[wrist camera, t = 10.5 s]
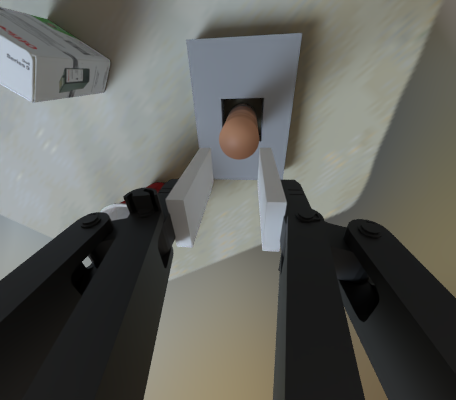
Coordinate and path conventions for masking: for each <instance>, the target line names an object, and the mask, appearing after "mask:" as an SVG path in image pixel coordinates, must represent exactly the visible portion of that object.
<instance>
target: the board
mask: <svg viewBox="0 0 456 400" xmlns="http://www.w3.org/2000/svg"><path fill="white" fill-rule="evenodd" d="M301 39H302V33H291V34H274V35H257V36H241V37H224V38H207V39H190V40H186V41H187V50H188V58H189V67H190V75H191V84H192V92H193V100H194V109H195V117H196V126H197V134H198V143H199V148H211V158H212V170H213V179H237V180H258V168H259V150H260V148H271V149H272V152H273V156H274V159H275V163H276V166H277V170H278V173H279V177H280V180H283V173H284V165H285V158H286V151H287V143H288V136H289V128H290V121H291V113H292V106H293V98H294V91H295V83H296V76H297V68H298V61H299V54H300V46H301ZM237 98H263V101H262V118H261V136H259V145H258V148H257V150H256V151H255V152H254V154H252V155H251V156H250V157H248V158H246V159H242V160H237V159H232V158H230V157H228V156H227V155H226V154H225V153H224V152H223V151H222V149H221V147H220V144H219V135H220V132H221V130H222V128H223V126H224V124H225V120H224V99H237Z"/></svg>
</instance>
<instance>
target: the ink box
mask: <svg viewBox="0 0 456 400" xmlns="http://www.w3.org/2000/svg"><path fill="white" fill-rule="evenodd" d="M109 68H110V60H109V59H108V58H106V57H105V56H103V55H102V54H100V53H99V52H97V51H96V50H94V49H92V48H91V47H89V46H88V45H86V44H85V43H83V42H82V41H80V40H79V39H77V38H76V37H74V36H72V35H71V34H69V33H68V32H66V31H65V30H63V29H62V28H60V27H59V26H57V25H56V24H54V23H52V22H51V21H49V20H48V19H44V18H40V17H36V16H32V15H29V14H25V13H22V12H18V11H14V10H10V9H6V8H2V7H0V84H1V85H2V86H4V87H6V88H8V89H9V90H11V91H13V92H15V93H16V94H18V95H20V96H22V97H23V98H25V99H27V100H29V101H30V102H33V103H35V102H41V101H48V100H55V99H62V98H70V97H77V96H84V95H91V94H98V93H104V91H105V87H106V83H107V78H108V73H109Z"/></svg>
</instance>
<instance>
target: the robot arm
mask: <svg viewBox="0 0 456 400" xmlns="http://www.w3.org/2000/svg"><path fill="white" fill-rule="evenodd" d="M213 183H214V181H213V170H212V158H211V148H199V150H198V151H197V153H196V154H195V156H194V157H193V159H192V160H191V162H190V163H189V165H188V166H187V168H186V169H185V171H184V172H183V174H182V175H181V177H180V178H179V179H171V180H169V181H168V182H166V183H165V184H164V185H163V186H162V188H161V189H160V190H159V192H157V191H156V190H155V189H153V188H139V189H136V190H133V191H131V192H129V193H127V194H126V195H125V196H124V200H125V202H126V205H127V208H128V210H129V213H130V214H129V216H128V218H124V219H118V220H113V221H111V219H110V216H109V215H108V214H107V213H104V212H96V213H91V214H88V215H86V216H84V217H82V218H80V219H79V220H77V221H76V222H75V223H73V224H72V225H71V226H69V227H68V228H67V229H66V230H64V231H63V232H62V233H60V234H59V235H58V236H57V237H55V238H54V239H53V240H52V241H50V242H49V243H48V244H46V245H45V246H44V247H43V248H41V249H40V250H39V251H37V252H36V253H35V254H34V255H32V256H31V257H30V258H29V259H27V260H26V261H25V262H23V263H22V264H21V265H20V266H18V267H17V268H16V269H15V270H13V271H12V272H11V273H9V274H8V275H7V276H6V277H5V278H3V279H2V280H1V281H0V400H143V399H144V394H145V389H146V385H147V380H148V375H149V369H150V365H151V360H152V355H153V351H154V345H155V341H156V336H157V331H158V326H159V322H160V317H161V312H162V307H163V302H164V297H165V293H166V288H167V283H168V278H169V273H170V268H171V263H172V259H173V247H172V244H173V242H174V240H176V244H177V247H193V244H194V241H195V238H196V235H197V232H198V229H199V226H200V223H201V220H202V217H203V214H204V211H205V208H206V205H207V202H208V199H209V196H210V193H211V189H212V186H213ZM258 196H259V210H260V223H261V237H262V250H263V251H279V248H280V245H281V250H282V253H281V259H280V264H279V271H280V276H279V294H278V295H279V296H278V313H277V332H276V350H275V370H274V388H273V400H365V398H364V393H363V389H362V385H361V381H360V376H359V371H358V367H357V362H356V358H355V354H354V349H353V345H352V340H351V336H350V332H349V327H348V323H347V318H346V314H345V310H344V307H345V309H346V311H347V314H348V315H349V318H350V320H351V322H352V324H353V326H354V328H355V330H356V333H357V335H358V337H359V339H360V341H361V343H362V345H363V347H364V349H365V351H366V354H367V355H368V358H369V360H370V362H371V364H372V366H373V368H374V370H375V372H376V375H377V377H378V379H379V381H380V383H381V385H382V387H383V389H384V391H385V394H386V396H387V398H388V400H456V298H455V297H454V296H453V295H452V294H451V293H450V292H449V291H448V290H447V289H446V288H445V287H444V286H443V285H442V284H441V283H440V282H439V281H438V280H437V279H436V278H435V277H434V276H433V275H432V274H431V273H430V272H429V271H428V270H427V269H426V268H425V267H424V266H423V265H422V264H421V263H420V262H419V261H418V260H417V259H416V258H415V257H414V256H413V255H412V254H411V253H410V252H409V251H408V250H407V249H406V248H405V247H404V246H403V245H402V244H401V243H400V242H399V240H398V239H397V238H396V237H394V235H392V233H390V232H389V231H388V230H387V229H386V228H384V227H383V226H381V225H380V224H377V223H375V222H373V221H369V220H363V219H357V220H352V221H351V222H349V224H348V226H347V227H342V226H338V225H334V224H330V223H327V222H325V221H324V218H323V217H322V215H321V214H320V213H318V212H317V211H315V210H313V209H311V207H310V204H309V202H308V200H307V198H306V196H305V193H304V191H303V189H302V187H301V185H300V184H299V183H298V182H297V181H295V180H280V177H279V173H278V170H277V166H276V163H275V159H274V156H273V152H272V149H271V148H260V150H259V168H258ZM87 256H88V257H89V258H90V259H91V261H92V264H91V265H90V266H88V267H87V268H86V267H85V266H84V264H83V263H82V261H83V260H84V259H85V258H86V257H87Z"/></svg>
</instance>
